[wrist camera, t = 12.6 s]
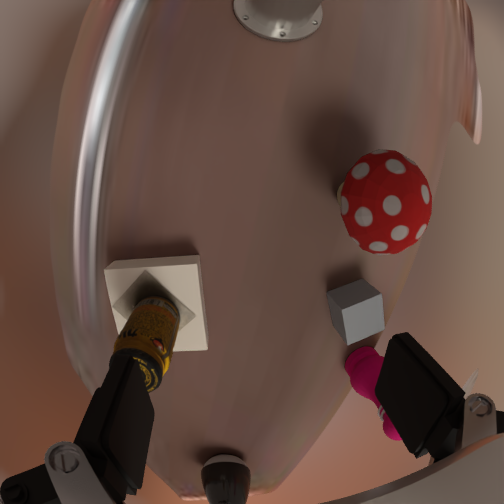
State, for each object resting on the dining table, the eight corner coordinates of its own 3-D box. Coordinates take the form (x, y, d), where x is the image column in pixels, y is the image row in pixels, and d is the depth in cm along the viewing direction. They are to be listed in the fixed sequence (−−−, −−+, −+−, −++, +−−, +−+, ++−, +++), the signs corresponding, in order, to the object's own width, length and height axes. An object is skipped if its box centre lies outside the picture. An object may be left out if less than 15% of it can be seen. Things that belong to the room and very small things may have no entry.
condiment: (160, 347, 35) (142, 410, 24) (112, 305, 33) (75, 358, 22) (196, 315, 35) (187, 376, 23) (145, 268, 32) (112, 314, 21)
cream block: (114, 260, 36) (103, 269, 32) (199, 254, 37) (197, 263, 33) (130, 336, 39) (123, 351, 35) (208, 334, 40) (207, 349, 36)
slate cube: (326, 291, 40) (341, 309, 34) (362, 278, 40) (381, 293, 35) (332, 325, 42) (347, 345, 36) (366, 311, 42) (384, 329, 36)
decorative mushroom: (302, 229, 37) (349, 263, 23) (313, 146, 35) (370, 131, 20) (373, 239, 39) (439, 271, 24) (385, 163, 36) (458, 164, 22)
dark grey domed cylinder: (242, 444, 48) (249, 505, 33) (252, 467, 50) (260, 520, 36) (194, 450, 47) (192, 510, 32) (209, 472, 50) (211, 525, 35)
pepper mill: (384, 357, 45) (443, 429, 26) (353, 382, 46) (401, 461, 27) (367, 336, 43) (432, 414, 24) (334, 363, 44) (385, 451, 25)
